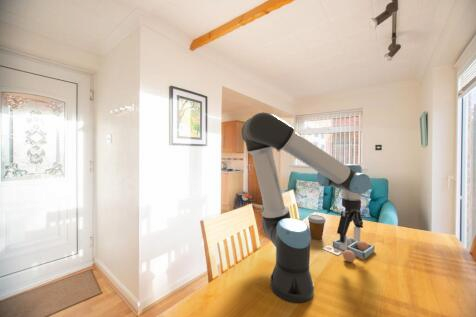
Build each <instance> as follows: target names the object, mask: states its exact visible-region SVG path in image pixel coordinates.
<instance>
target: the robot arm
mask: <svg viewBox="0 0 476 317" xmlns="http://www.w3.org/2000/svg"><path fill="white" fill-rule="evenodd" d="M241 138H242V140H243V141H244V143H245V147H246V151H247V153H248V154H250V155H251V157H252V161H253V165H254V169H255V173H256V174H255V175H256V178H257V183H258V187H259V191H260V196H261V201H262V205H263V208H264V209H263V211H262V212H261V217H262V223H261V224H262V229H263V231H264V234H265V236H267V237H268V238H269V240H270V242H271V243H272V244H273V245H274V246H275V265H274V267H273V270H272V273H271V276H270V283H269V284H270V289H271V291H272V292H273V293H274V294H275V295H276V296H277V297H279V298H280V299H281V300H284V301H287V302H289V303H295V304H296V303H297V304H300V303H301V304H302V303H307V302H308V301H310V300H311V299H312V298H313V296H314V295H315V294H314V293H315V284H314V282H313V279H312V274H311V272H310V262H311V261H310V259H311V258H310V255H311V242H312V241H311V240H312V238H311V236H310V228H309V225H307V224H306V223H305V222H303V221H302V220H298V219H296V218H291V216H292V215H291V213H290V209H289V207H287V206H286V205H285V202H284V197H283V194H282V189H281V184H280V178H279V175H278V170H277V165H276V161H275V157H274V152H273V151H274V149H275V150H277V151H284V152H285V153H287V154H289V155H290V156H292V157H293V158H294V159H297V160H299V161H300V162H301V163H304V164H305V165H306V166H308V167H309V168H311V169H313V170H314V171H315V172H317V173H316V181H317V183H318V185H319V186H321V187H327V188H328V187H333V188H337V189H340V190H341V197H342V199H341V207H343V208H344V210H341V212H340V218H339V222H338V227H337V230H336V231H337V232H336V234H338V235H339V238H340V249H343V250H345V251H346V250H347V237H348V235H347V233H348V230H349V227H350V224H351V222H353V225H354V226H353V240H355V241H358V242H360V241H361V229H364V222H363V217H362V212H361V208H362V200H361V199H362V195H363V194H366V193H368V192H369V191H370V189H371V187H372V180H371V178H370V176H369V175H368V174H366V173H363V170H362V165H360V164H353V163H346V164H345V163H342V162H341V161H340V160H338V159H337V158H336V157H334V156H332V155H330V153H328V152H326V151H324V150H323V149H321V148H320V147H318V146H317V145H316V144H314V143H312V142H311V141H309V140H308V139H307V138H305V137H303V136H301V135H300V134H298V133H297V132H296V131H295V127H294V126H292V125H290V123H288V122H286V121H285V120H283V119H282V118H280V117H278V116H276V115H274V114H273V113H269V112H258V113H255V114H254V115H253V116H252V117H250V118H248V119H246V121H245V122H244V123H243V125H242V128H241Z"/></svg>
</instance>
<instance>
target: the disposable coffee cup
mask: <svg viewBox="0 0 476 317" xmlns="http://www.w3.org/2000/svg"><path fill="white" fill-rule="evenodd" d="M307 219H308V227H309V229H310V236H311V240H312V239H313V240H316V241H321V240H322V239H323V234H324V229H325V223H326V218H325V217H324V216H323V215H319V214H310V215H308V218H307Z"/></svg>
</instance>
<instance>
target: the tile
mask: <svg viewBox="0 0 476 317" xmlns="http://www.w3.org/2000/svg"><path fill="white" fill-rule="evenodd" d="M321 249H322V250H324V251H327V252H329V253H331V254H333V255H336V256H339V255H341V254H343V252H344V251H342V250H339V249H336V248H334V247H333V246H331V245H326V246H324V247H322V248H321Z"/></svg>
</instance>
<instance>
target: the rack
mask: <svg viewBox="0 0 476 317" xmlns="http://www.w3.org/2000/svg"><path fill="white" fill-rule="evenodd" d="M347 237H348V238H349V239H350V240H351V242H352V244H350V245H349V246H347V250H350V251H352V252H353V253H354V254H355V257H357V258H360V259H362V260H365V259H367V258H368V257H370V256H371V255H372V254H373V253H375V245H373V244H370V243H368V242H367V244H368V246H369V248H368V249H367V250H365V251H361V250H360V249H358V247H357V243H358V241H355V240H353V239H354V237H353V238H352V237H349V236H347ZM332 247H334V248H336V249H339V250H341V251H345V250H343V249H340V237H339V238H337V239H335V240H333V241H332Z"/></svg>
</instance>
